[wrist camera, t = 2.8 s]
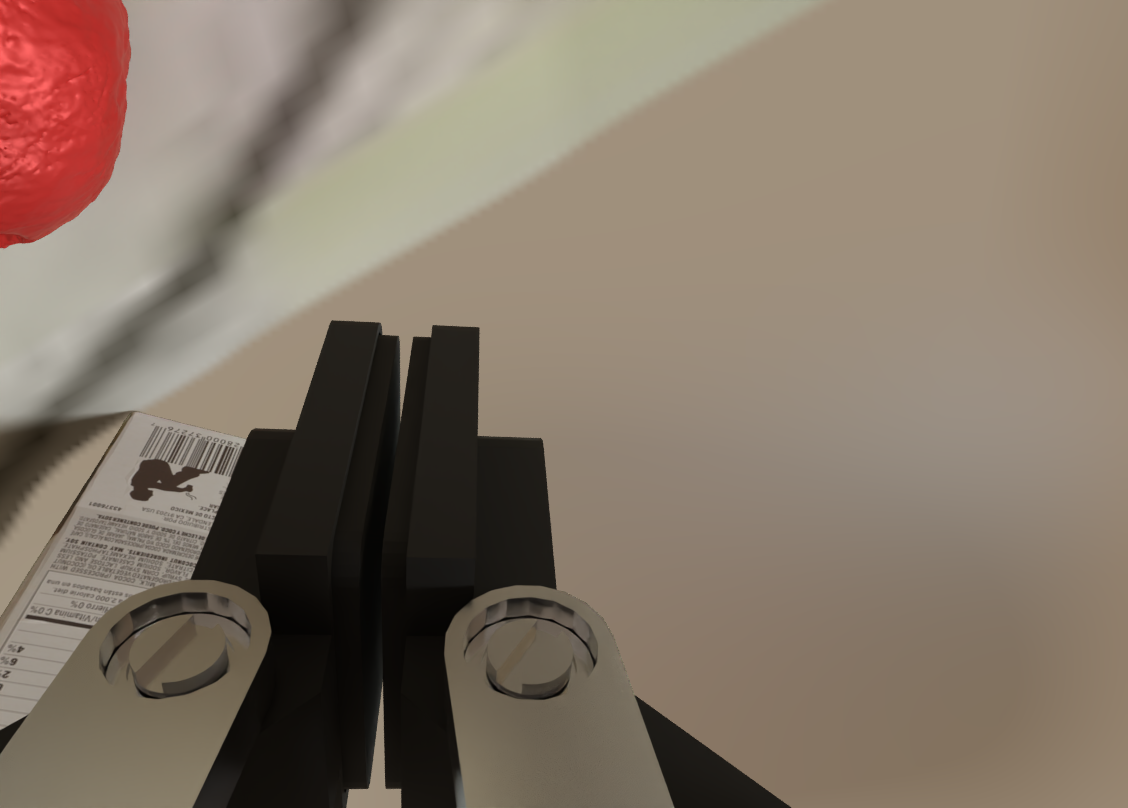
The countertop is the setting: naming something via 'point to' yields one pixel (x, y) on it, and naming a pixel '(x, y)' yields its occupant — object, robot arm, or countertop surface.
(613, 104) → the countertop surface
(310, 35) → the countertop surface
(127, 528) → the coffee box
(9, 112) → the red tomato
